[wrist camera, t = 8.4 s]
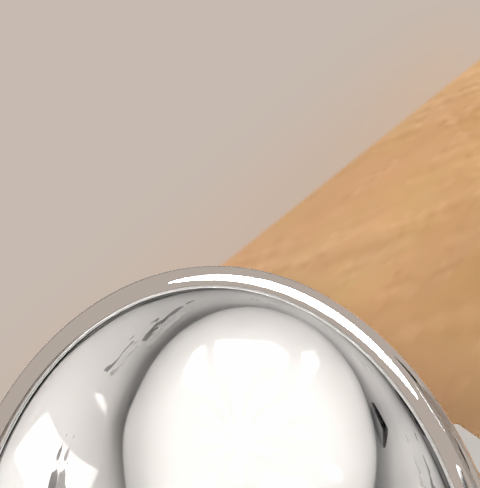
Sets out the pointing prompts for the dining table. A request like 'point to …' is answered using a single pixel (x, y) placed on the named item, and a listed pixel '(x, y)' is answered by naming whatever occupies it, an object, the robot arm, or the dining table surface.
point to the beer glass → (224, 395)
